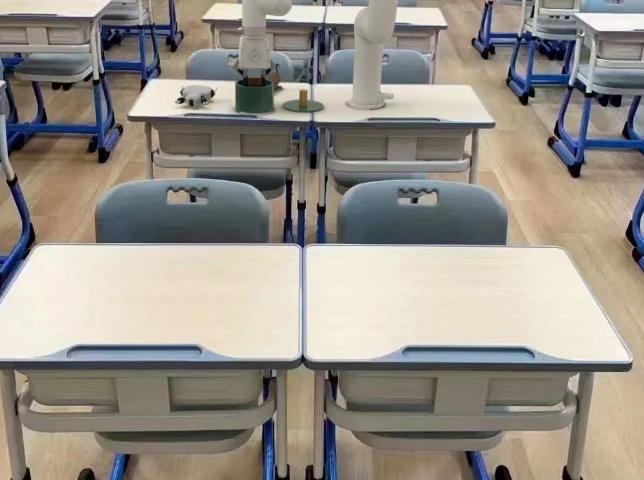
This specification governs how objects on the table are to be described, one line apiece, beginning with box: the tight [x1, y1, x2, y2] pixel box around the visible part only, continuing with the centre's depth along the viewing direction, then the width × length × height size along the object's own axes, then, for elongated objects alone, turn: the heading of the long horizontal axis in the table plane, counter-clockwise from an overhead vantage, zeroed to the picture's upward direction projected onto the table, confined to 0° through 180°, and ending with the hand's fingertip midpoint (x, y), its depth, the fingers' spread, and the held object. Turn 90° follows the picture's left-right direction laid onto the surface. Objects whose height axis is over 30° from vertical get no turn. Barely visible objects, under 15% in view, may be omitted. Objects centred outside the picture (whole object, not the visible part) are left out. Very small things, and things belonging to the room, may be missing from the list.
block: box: [247, 73, 262, 87], centre depth 268 cm, size 4×4×4 cm
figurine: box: [267, 63, 283, 94], centre depth 293 cm, size 14×4×9 cm, turn 164°
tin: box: [234, 78, 275, 115], centre depth 270 cm, size 13×13×9 cm
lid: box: [282, 88, 324, 114], centre depth 273 cm, size 14×14×6 cm
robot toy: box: [174, 84, 218, 108], centre depth 276 cm, size 12×4×15 cm
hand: (254, 88), depth 269 cm, fingers closed on block, 4 cm apart
